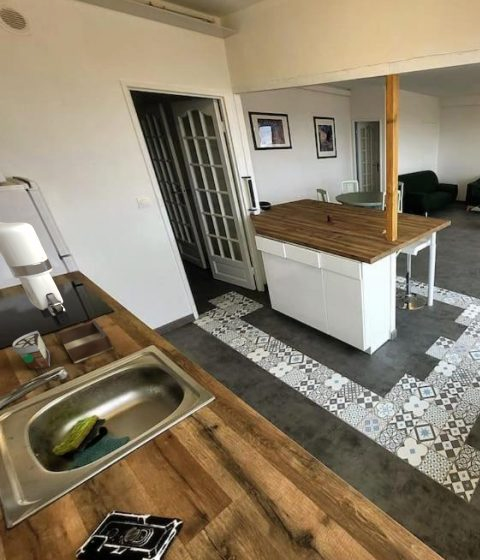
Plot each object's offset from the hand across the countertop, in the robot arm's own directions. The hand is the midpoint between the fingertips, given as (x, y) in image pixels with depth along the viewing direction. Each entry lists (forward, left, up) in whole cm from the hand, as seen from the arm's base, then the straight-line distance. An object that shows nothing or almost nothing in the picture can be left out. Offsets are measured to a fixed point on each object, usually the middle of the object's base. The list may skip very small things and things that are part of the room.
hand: (57, 320), depth 93 cm
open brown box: (+5, +22, -23) cm, 33 cm away
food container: (-9, +23, -24) cm, 34 cm away
